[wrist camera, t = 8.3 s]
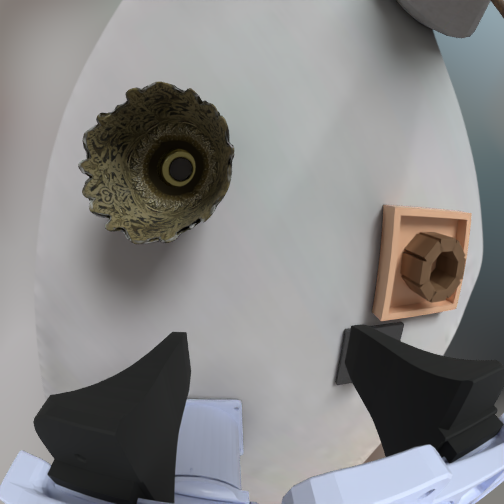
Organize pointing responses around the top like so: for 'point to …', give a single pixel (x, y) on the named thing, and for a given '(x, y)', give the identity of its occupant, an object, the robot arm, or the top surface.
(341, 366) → the stand
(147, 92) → the cup
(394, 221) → the dish
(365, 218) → the top surface
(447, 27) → the coffee pot
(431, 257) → the ring
